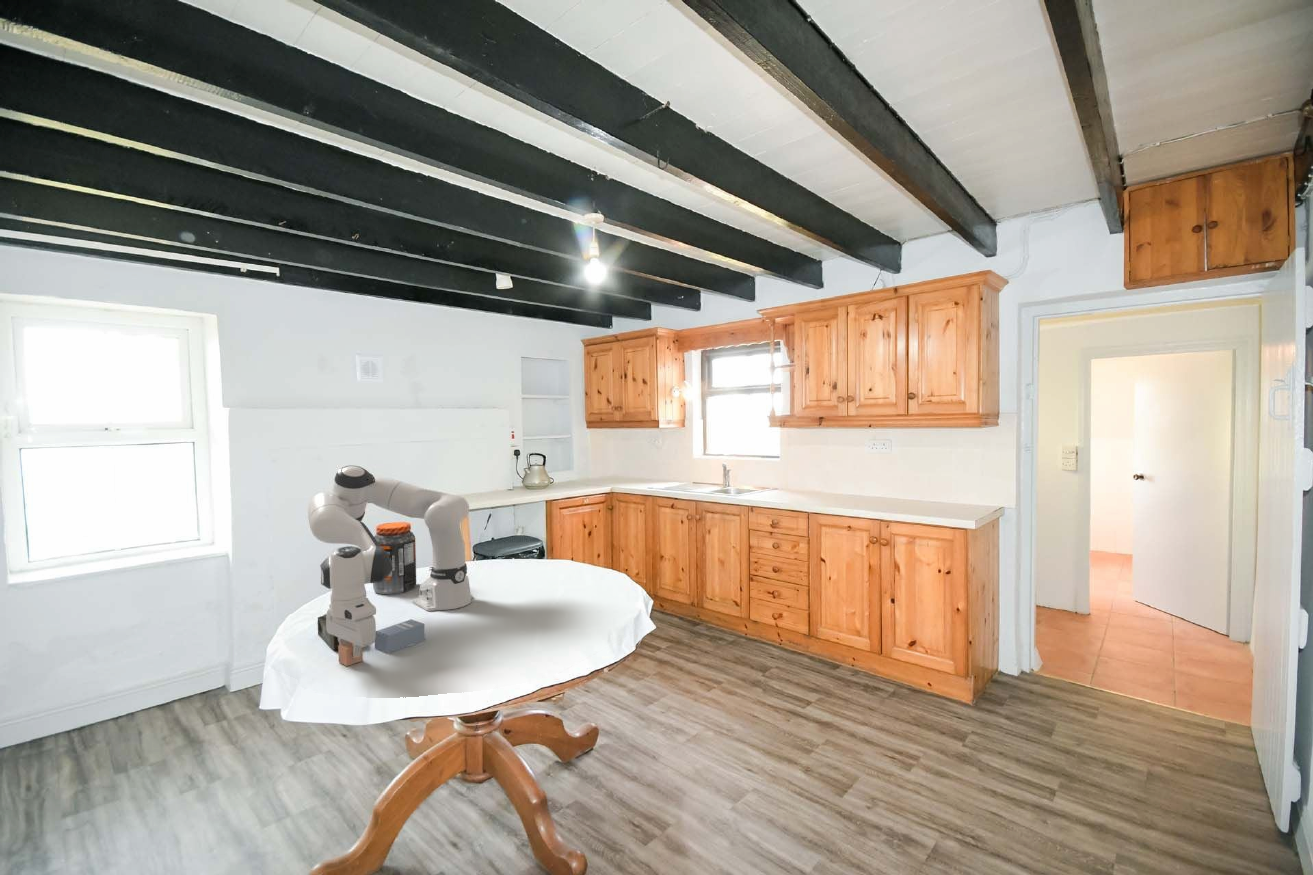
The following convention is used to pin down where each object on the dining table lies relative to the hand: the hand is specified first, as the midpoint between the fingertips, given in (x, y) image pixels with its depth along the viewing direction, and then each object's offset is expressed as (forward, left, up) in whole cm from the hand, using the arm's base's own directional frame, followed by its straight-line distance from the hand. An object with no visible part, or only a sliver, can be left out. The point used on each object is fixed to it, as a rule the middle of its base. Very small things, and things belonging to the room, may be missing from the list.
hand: (350, 654), depth 159 cm
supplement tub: (-53, +45, -2) cm, 69 cm away
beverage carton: (-19, +7, -3) cm, 21 cm away
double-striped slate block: (0, +15, -2) cm, 15 cm away
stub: (0, 0, -2) cm, 2 cm away
